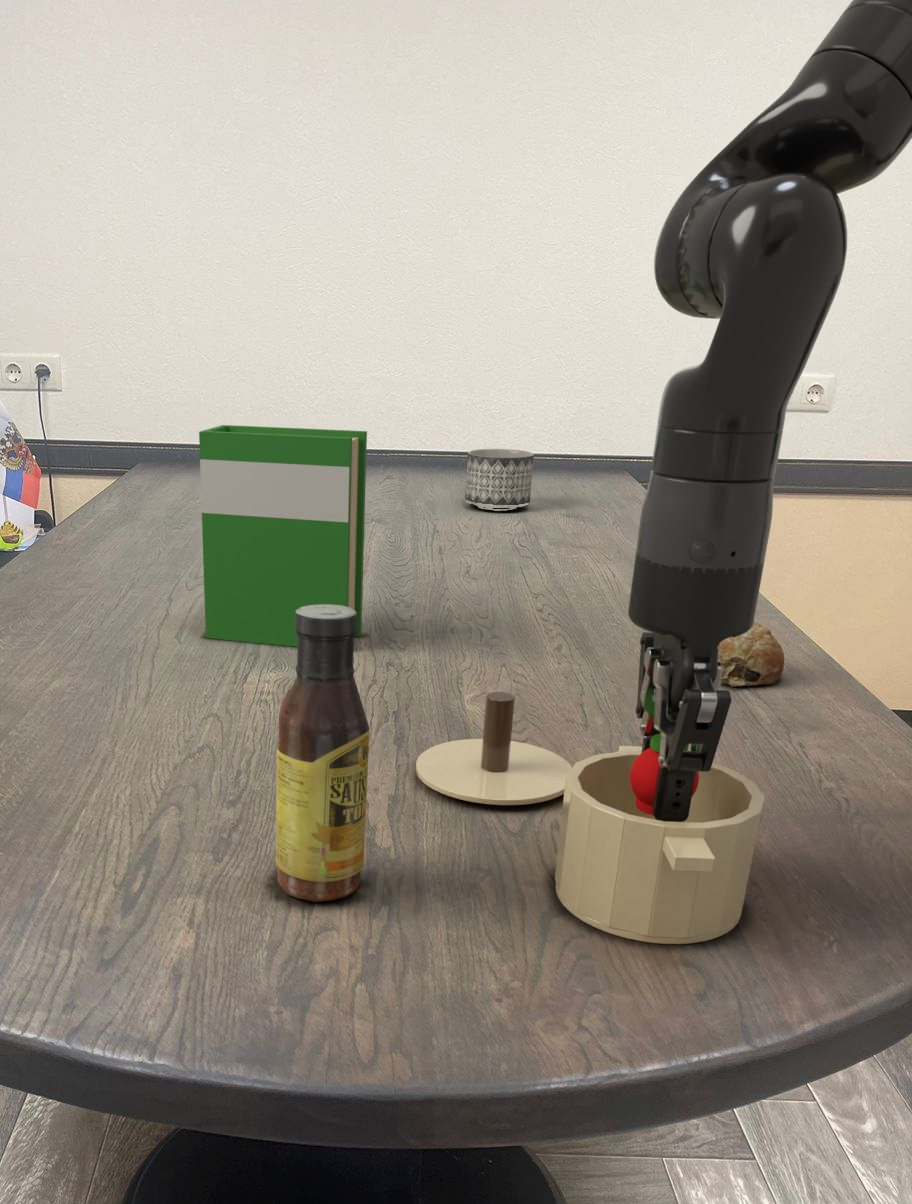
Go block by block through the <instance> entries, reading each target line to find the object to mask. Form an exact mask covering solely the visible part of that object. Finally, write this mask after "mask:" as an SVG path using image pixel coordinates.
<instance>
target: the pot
mask: <svg viewBox="0 0 912 1204" xmlns="http://www.w3.org/2000/svg"><path fill="white" fill-rule="evenodd" d="M641 751H642V745H641V746H640V745H639V746H637V745H619V746H618V751H614V752H605V753H600V754H598V753H597V754H595V755H592V756H589V757H587V758H585V759H581V760H580V761H577V762H575V763H574V764H573V766H572V769H571V770H570V772H569V773H568V774H567V776H566V782H565V791H564V794H563V800H562V802H563V803H562V808H561V809H562V810H561V819H560V827H559V836H558V837H559V838H558V844H557V854H556V861H555V871H554V880H555V886H554V887H555V888H554V889H555V893H556V896H557V898H558V900H559V902H560V903H561V905H562V906H563V907H564V908H565V909H566V910H567V911H568V912H570V914H572V915H573V916H575V917H576V918H577V919H579V920H581V921H582V922H583V923H586V924H587V925H589V926H591V927H593V928H595V929H598V930H601V931H602V932H605V933H608V934H611V935H614V936H617V937H621V938H624V939H627V940H631V941H632V940H633V941H637V942H644V943H651V944H659V945H661V944H662V945H687V944H695V943H696V944H697V943H703V942H707V941H711V940H715V939H716V938H719V937H722V936H723V935H725V934H728V933H729V932H730V931H731V930H733V929H734V928H735V927H736V926H737V925H738V923H739V922H740V921H741V920H740V919H741V918H742V912H743V909H744V905H745V902H746V901H745V900H746V896H747V890H748V886H749V880H750V875H751V871H752V864H753V860H754V855H755V851H756V844H757V841H758V840H757V839H758V835H759V829H760V824H761V819H762V814H763V810H764V804H765V799H766V798H765V795H764V794H763V793H762V791H761V790H760V789H759V787H758V785H756V783H755V782H754V781H753V780H751V779H749V778H748V777H746V776H744V775H742V774H740V773H739V772H737V771H735V770H734V769H732V768H730V767H727V766H724V765H721V764H718V763H715V762H713V763H712V766H711V769H710V771H709V772H701V771H698V772H699V783H698V787H697V789H696V792H695V793H694V795H693V797H692V798H691V804H690V810H689V816H688V818H687V819H686V820H685V821H683V822H666V821H660V820H656V819H655V817H654V815H650V814H647V813H644V812H642V811H641V810H639V809H638V808H637V807H636V804H635V802H636V796H635V794H634V792H633V790H632V787H631V783H630V772H631V768H632V766H633V763H634V761H635V760H636V759H637V757H638V756H639V755H640V754H641Z"/></svg>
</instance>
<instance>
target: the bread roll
mask: <svg viewBox="0 0 912 1204" xmlns="http://www.w3.org/2000/svg"><path fill="white" fill-rule="evenodd" d="M717 648H718V661H721V663H722V677H721V685H725V686H728V685H729V686H731V687H732V688H736V687H749V686H751V687H752V686H753V687H754V686H760V685H772V684H775V683H776V682H777V681H778V680H779V679H780V677H781V676H782V673H783V672H784V668H785V653H784V650H783V648H782V646H781V644H780V643H779V642H778V640H777V638H775V636H774V635H772V631H771V630H770V629H769V627H766V626H763V625H761V624H759V623H758V622H756V621H754V622H753V625H752V627H751V628H750V630H749V631H747V632H746V633H744V634H742V635H740V636H737V637H729V638H727V639H725V640H723V641H722V642H720V643H719V646H718V647H717Z"/></svg>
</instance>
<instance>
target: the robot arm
mask: <svg viewBox="0 0 912 1204" xmlns="http://www.w3.org/2000/svg"><path fill="white" fill-rule="evenodd" d="M911 141H912V0H852V1H850V3H849V4H848V5H847V7H846V9H844V11H843V12H842V14H841V15H840V16H839V18H838V19H837V21H836V22H835V23H834V24H833V26H832V27H831V29H830V30H829V32H827V34H826V35H825V36H824V37H823V39H822V40H821V42H820V44H819V45H818V46H817V47H816V49H814V52H813V53H812V54H811V55H810V57H809V58H808V60H806V62H805V63H804V65H803V66H802V67H801V69H800V71H799V72H798V73H797V75H796V77H795V78H794V80H792V83H791V84H790V85H789V86H788V87H787V89H786V90H785V91H784V92H783V93H781V95H780V96H779V97H778V98H777V99H776V100H775V101H773V102H772V103H771V104H770V105H769V106H768V107H767V108H765V110H763V111H762V112H761V113H760V114H759V115H757V116H756V117H755V118H754V119H752V120H751V121H750V122H749V124H747V125H746V126H745V127H744V128H743V129H742V130H741V131H740V132H739V133H738V134H737V135H736V136H735V137H734V138H733V139H732V140H731V141H730V142H729V143H728V144H727V145H726V146H725V147H724V148H723V149H721V150H720V152H718V153H717V154H716V155H715V156H714V157H713V158H712V159H711V160H710V161H709V162H708V163H707V164H706V165H705V166H704V167H703V168H702V169H701V171H699V172H698V173H697V175H696V176H695V177H694V178H692V180H691V181H690V182H689V184H688V185H687V186H686V187H685V188H684V190H683V191H682V192H681V194H680V195H679V196H678V197H677V199H676V201H675V202H674V203H673V205H672V207H671V209H670V211H669V212H668V214H667V216H666V218H665V220H664V222H663V225H662V227H661V229H660V232H659V235H658V238H657V242H656V245H655V249H654V255H653V257H654V259H653V273H654V280H655V284H656V287H657V290H658V292H659V295H661V297H662V298H663V300H664V301H665V302H666V303H667V304H668V305H669V306H670V307H671V308H672V309H673V310H675V311H677V312H679V313H681V314H683V315H686V316H688V317H692V318H698V319H710V320H711V319H716V320H718V323H717V326H716V329H715V332H714V334H713V337H712V339H711V342H710V344H709V347H708V349H707V352H706V355H705V357H704V358H703V360H702V361H701V362H700V363H699V364H696V365H692V366H688V367H686V368H683V369H680V370H678V371H676V372H675V373H674V374H673V375H671V376H670V377H669V379H668V380H667V382H666V383H665V385H664V388H663V392H662V395H661V399H660V404H659V410H658V415H657V424H656V430H655V438H654V445H653V452H652V458H651V467H650V468H651V471H650V474H649V480H648V485H647V488H646V491H645V495H644V498H643V503H642V507H641V513H640V519H639V527H638V535H637V540H636V541H637V542H636V549H635V555H634V556H635V557H634V564H633V565H634V566H633V572H632V581H631V588H630V594H629V595H630V596H629V603H628V610H627V613H628V618H629V620H630V621H631V622H632V623H633V624H634V626H637V627H638V628H640V629H642V630H644V632H642V634H641V637H640V639H639V644H640V654H639V666H638V667H639V668H638V683H637V699H636V700H637V701H636V707H635V714H636V717H637V719H641V722H640V725H639V731H640V735H641V737H643V739H642V745H641V746H642V751H641V753H642V752H644V751H645V750H647V749H649V748H651V747H650V742H651V738H652V736H654V735H657V734H661V740H660V754H659V757H658V763H659V768H658V774H657V781H656V788H655V794H654V801H653V807H652V813H653V815H654V817H655V819H656V820H660V821H666V822H683V821H685V820H686V819H687V818H688V816H689V810H690V804H691V798H692V792H693V786H694V780H695V774H696V771H701V772H709V771H710V769H711V766H712V763H714V760H715V756H716V752H717V750H718V747H719V744H720V743H719V742H720V740H721V736H722V733H723V729H724V726H725V723H726V719H727V717H728V713H729V710H730V706H731V704H732V696H731V692H730V690H729V689H719V688H720V687H721V685H722V684H721V677H722V663H721V661H718V648H717V647H718V646H719V643H720V642H722V641H723V640H725V639H727V638H729V637H737V636H740V635H742V634H744V633H746V632H747V631H749V630H750V628H751V627H752V625H753V622H755V616H756V611H757V605H758V599H759V594H760V587H761V582H762V579H763V578H762V576H763V572H764V566H765V561H766V554H767V549H768V544H769V540H770V539H769V538H770V532H771V528H772V527H771V526H772V520H773V519H772V518H773V509H774V487H775V486H774V485H775V476H776V473H777V467H778V461H779V456H780V451H781V445H782V440H783V439H782V438H783V433H784V426H785V421H786V413H787V409H788V405H789V402H790V399H791V397H792V395H793V393H794V391H795V388H796V387H797V384H798V382H799V380H800V378H801V376H802V374H803V372H804V370H805V368H806V365H807V363H808V361H809V359H810V356H811V354H812V352H813V349H814V347H815V344H816V342H817V339H818V338H819V336H820V332H821V330H822V328H823V326H824V323H825V321H826V319H827V316H828V315H829V313H830V310H831V307H832V305H833V302H834V300H835V297H836V294H837V293H838V289H839V287H840V284H841V282H842V278H843V275H844V274H843V273H844V270H845V265H846V259H847V252H848V225H847V219H846V214H845V210H844V207H843V203H842V201H841V199H840V197H839V194H841V193H844V192H846V191H849V190H853V189H855V188H858V187H861V186H863V185H866V184H867V183H869V182H871V181H873V180H874V179H876V178H878V177H879V176H880V175H881V174H883V172H885V171H886V170H887V169H888V167H890V166H891V164H892V163H894V161H895V160H896V159H897V158H898V157H899V155H901V153H902V152H904V150H905V148H906V147H907V146H908V144H909V143H910V142H911ZM646 631H647V632H646ZM687 744H689V745H690V750H688V751H683V750H684V747H685V745H687Z"/></svg>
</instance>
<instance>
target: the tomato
mask: <svg viewBox="0 0 912 1204" xmlns="http://www.w3.org/2000/svg"><path fill="white" fill-rule="evenodd" d="M660 740H661V734H657V735H654V736H652V738H651V742H650V747H651V748H649V749H647V750H645V751H644V752H642V753H641V754H640V755H639V756H638V757H637V759H636V760H635V761H634V763H633V766H632V768H631V772H630V783H631V787H632V790H633V792H634V794H635V796H636V802H635V804H636V807H637V808H638V809H639V810H641V811H642V812H644V813H647V814H650V815H653V813H652V807H653V801H654V794H655V788H656V781H657V774H658V768H659V763H658V757H659V754H660ZM689 745H690V744H687V745H685V747H684V750H683V751H689ZM698 783H699V772H698V771H696V774H695V780H694V786H693V792H692V797H693V795H694V793H695V792H696V789H697V787H698Z"/></svg>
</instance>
